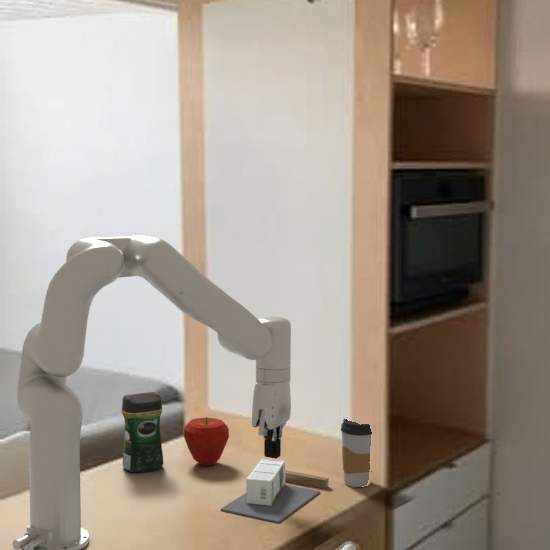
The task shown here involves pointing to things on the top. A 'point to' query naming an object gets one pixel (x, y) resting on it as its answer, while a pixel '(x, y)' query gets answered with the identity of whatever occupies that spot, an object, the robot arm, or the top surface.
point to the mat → (279, 510)
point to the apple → (206, 439)
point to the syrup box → (266, 482)
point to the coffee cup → (356, 453)
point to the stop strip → (306, 479)
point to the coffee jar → (142, 432)
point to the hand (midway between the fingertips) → (272, 456)
